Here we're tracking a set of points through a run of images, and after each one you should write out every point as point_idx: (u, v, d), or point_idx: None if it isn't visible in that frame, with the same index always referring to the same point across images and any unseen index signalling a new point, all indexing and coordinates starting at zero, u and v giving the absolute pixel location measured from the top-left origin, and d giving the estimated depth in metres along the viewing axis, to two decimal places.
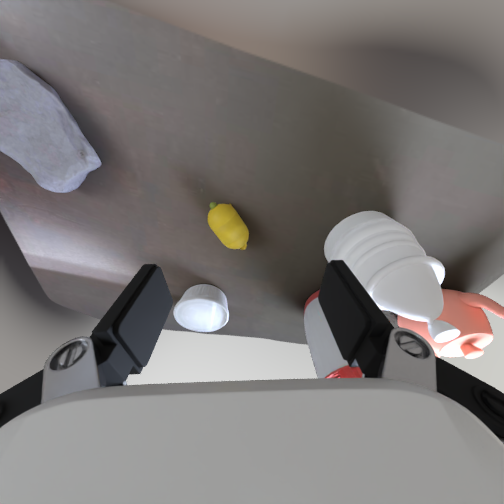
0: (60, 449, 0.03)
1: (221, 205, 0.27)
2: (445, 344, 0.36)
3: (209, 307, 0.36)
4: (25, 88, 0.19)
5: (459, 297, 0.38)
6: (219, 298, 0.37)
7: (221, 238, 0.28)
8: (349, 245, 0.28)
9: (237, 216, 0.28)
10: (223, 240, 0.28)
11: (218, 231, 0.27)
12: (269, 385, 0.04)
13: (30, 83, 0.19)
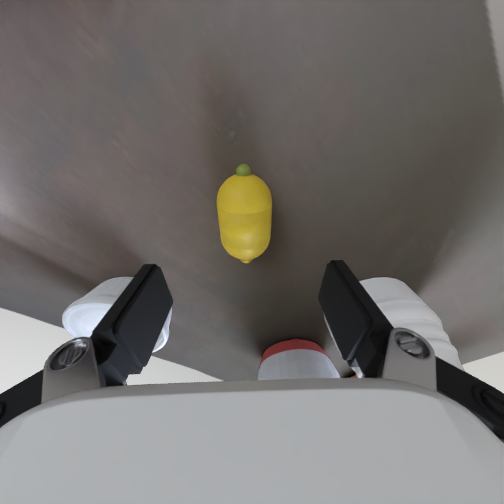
0: (60, 450, 0.03)
1: (258, 179, 0.14)
2: None
3: None
4: None
5: None
6: None
7: (227, 233, 0.15)
8: None
9: (271, 211, 0.16)
10: (229, 238, 0.15)
11: (230, 219, 0.14)
12: (269, 385, 0.04)
13: None
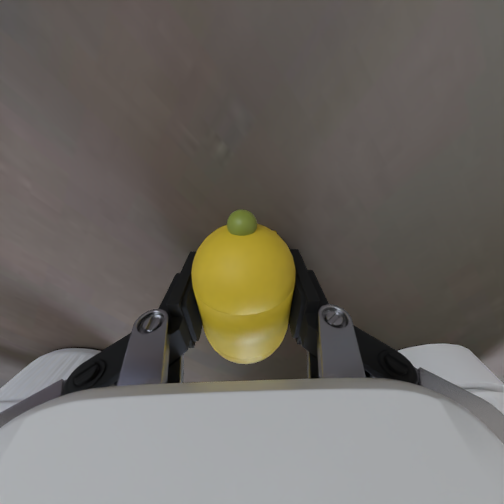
0: (60, 450, 0.03)
1: (271, 238, 0.07)
2: None
3: None
4: None
5: None
6: None
7: (212, 333, 0.08)
8: None
9: None
10: (215, 339, 0.08)
11: (216, 319, 0.07)
12: (269, 385, 0.04)
13: None
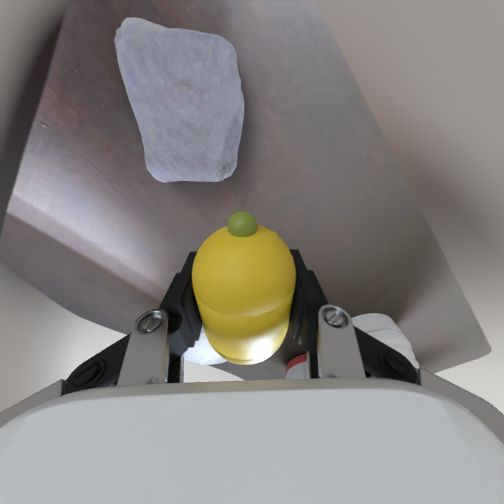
0: (60, 450, 0.03)
1: (272, 239, 0.07)
2: None
3: None
4: (226, 81, 0.15)
5: None
6: None
7: (212, 334, 0.08)
8: None
9: None
10: (215, 341, 0.08)
11: (216, 320, 0.07)
12: (269, 385, 0.04)
13: (234, 81, 0.15)
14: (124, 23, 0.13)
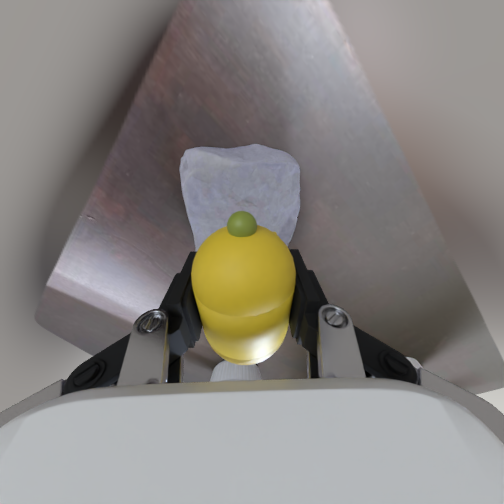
0: (60, 450, 0.03)
1: (271, 239, 0.07)
2: None
3: None
4: (287, 194, 0.15)
5: None
6: None
7: (212, 334, 0.08)
8: None
9: None
10: (215, 341, 0.08)
11: (215, 320, 0.07)
12: (269, 385, 0.04)
13: (295, 191, 0.15)
14: (192, 157, 0.12)
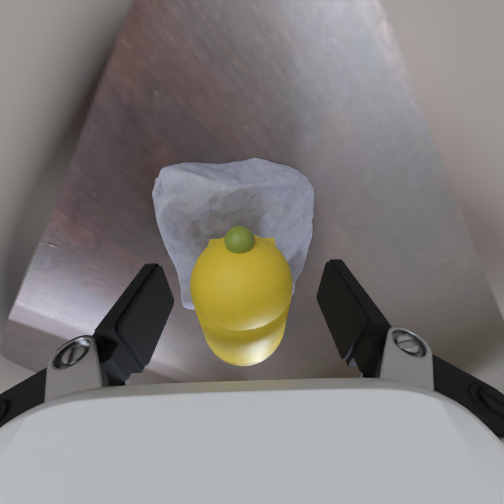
0: (60, 449, 0.03)
1: (269, 254, 0.07)
2: None
3: None
4: (297, 223, 0.11)
5: None
6: None
7: (211, 341, 0.09)
8: None
9: None
10: (214, 346, 0.09)
11: (215, 332, 0.07)
12: (269, 385, 0.04)
13: (306, 219, 0.12)
14: (168, 179, 0.09)
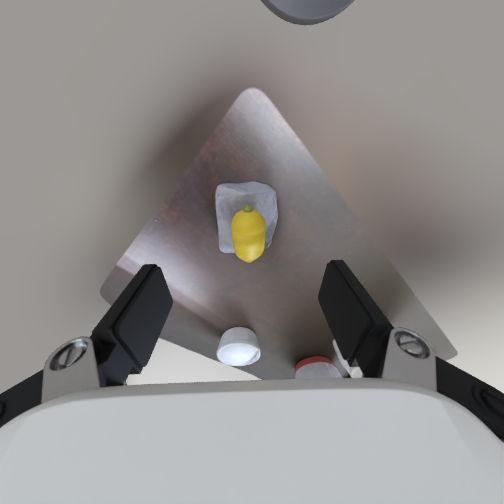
0: (60, 451, 0.03)
1: (256, 213, 0.24)
2: None
3: (251, 351, 0.45)
4: (270, 207, 0.28)
5: None
6: (258, 345, 0.47)
7: (238, 245, 0.25)
8: None
9: None
10: (238, 248, 0.25)
11: (240, 238, 0.24)
12: (269, 385, 0.04)
13: (274, 206, 0.28)
14: (222, 190, 0.26)
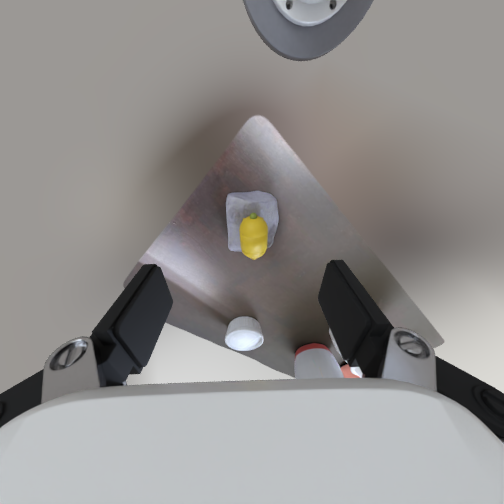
0: (60, 449, 0.03)
1: (260, 219, 0.29)
2: None
3: (255, 337, 0.51)
4: (272, 213, 0.33)
5: None
6: (261, 332, 0.53)
7: (245, 245, 0.30)
8: None
9: (267, 234, 0.30)
10: (246, 248, 0.30)
11: (247, 240, 0.29)
12: (269, 385, 0.04)
13: (275, 212, 0.33)
14: (232, 199, 0.31)
